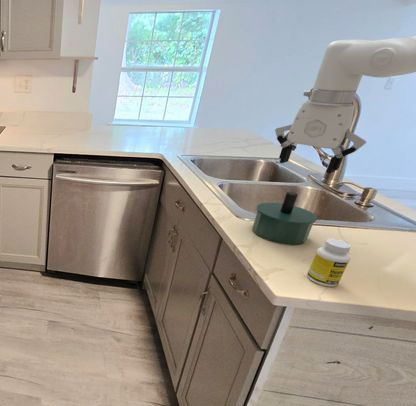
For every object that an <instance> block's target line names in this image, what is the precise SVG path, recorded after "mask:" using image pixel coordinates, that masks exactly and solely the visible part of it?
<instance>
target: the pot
mask: <svg viewBox="0 0 416 406" xmlns="http://www.w3.org/2000/svg"><path fill="white" fill-rule="evenodd" d="M256 211H257V210H256ZM313 225H314V223H311V224H293V223H287V222H282V221H278V220H275V219H271V218H269V217H266V216H264V215H262V214H261V213H259V212H258V211H257V212H256V214H255V218H254V221H253V224H252V228H251V230H252V232H253V233H254V235H256V236H258V237H260V238H262V239H263V240H266V241H269V242H272V243H277V244H281V245H288V246H300V245H303V244H305V243H307V241H308V238H309V236H310V233H311V231H312V228H313Z"/></svg>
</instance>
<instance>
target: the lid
mask: <svg viewBox="0 0 416 406" xmlns="http://www.w3.org/2000/svg"><path fill="white" fill-rule="evenodd" d="M298 196H299V194H298V193H297V192H294V191H287V192H285V196H284V199H283V202H282V203H280V202H262V203H259V204H257V205H256V208H255V209H256V211H258V212H259V213H261V214H262V215H264V216H266V217H269V218H271V219H275V220H278V221H282V222H287V223H293V224H311V223H313V224H315V223H316V222H317V220H318V216H317V215H316V214H315V213H313V212H312V211H310V210H307V209H305V208H303V207H299V206H296V205H295V204H296V202H297V198H298Z"/></svg>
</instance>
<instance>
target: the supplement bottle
mask: <svg viewBox="0 0 416 406" xmlns="http://www.w3.org/2000/svg"><path fill="white" fill-rule="evenodd" d="M351 247H352V246H351V244H350V243H348V242H346V241H344V240H342V239H341V240H340V239H336V238H327V239H326V240H325V241H324V244H323V246H321V247H318V248H317V250H316V252H315V254H314V256H313V259H312V261H311V264H310V266H309V268H308V270H307V273H306V277H307V279H308V280H310V281H312V282H313V283H315V284H318V285H320V286H323V287H329V288H330V287H331V288H332V287H333V288H334V287H337V286H338V285H339V283H340V282H341V279H342V277H343V275H344V273H345V271H346V268H347V267H348V265H349V262H350V260H351V257H350V255H349V254H348V253H349V252H350V249H351Z"/></svg>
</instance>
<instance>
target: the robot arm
mask: <svg viewBox="0 0 416 406" xmlns="http://www.w3.org/2000/svg"><path fill="white" fill-rule="evenodd" d="M414 73H416V35H413V36H409V37H407V36H406V37H393V38H384V39H376V40H369V39H337V40H334V41H332V42H330V43H329V44H328V45H327V46H326V49H325V51H324V54H323V57H322V60H321V63H320V67H319V69H318V72H317V75H316V77H315V81H314V83H313V86H312V88H311V89H309V90H308V89H306V90H304V92H303V97H307V101H303V102H302V104H301V106H300V107H299V108H298V111H297V113H296V115H295V117H294V119H293V121H292V124H289V125H284V126H280V127H277V128H275V130H274V131H275V135H276V140H277V141H278V143H279V144H280V147H281V151H280V154H279V156H278V159H280V160H279V163H280V164H285V163H288V162H289V160H290V158H291V154H292V151H293V145H294V144H297V145H303V146H308V147H315V148H320V149H321V148H322V149H326V150H331V152H332V153H333V154H334V155H333V156H332V157H331V159H330V161H329V163H328V165H327V169H326V171H325V173H327V174H329V175H330V174H333V173H335V171H338V170H339V169H340V167H341V164H342V162H343V159H344V157H346V156H349V155H351V154H353V153H355V152H357V151H358V150H360V149H361V148H362V147H363V146H365V145H366V144H367V141H366V139H364V138H362V137H360V136H359V135H357V134H356V133H354V132H352V131H351V127H352V124H353V119H354V114H355V104H352V103H353V101H354V99H355V96H356V94H357V90H358V87H359V85H360V83H361V81H362V77H363V76H366V77H372V78H390V77H396V76H403V75H409V74H414ZM287 131H288V133H287V137H286V135H285V132H287ZM347 140H349V141H350V142H351V143H353V145H350V147H349V148H346V149H345V147H344V145H345V143H346V141H347Z"/></svg>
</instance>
